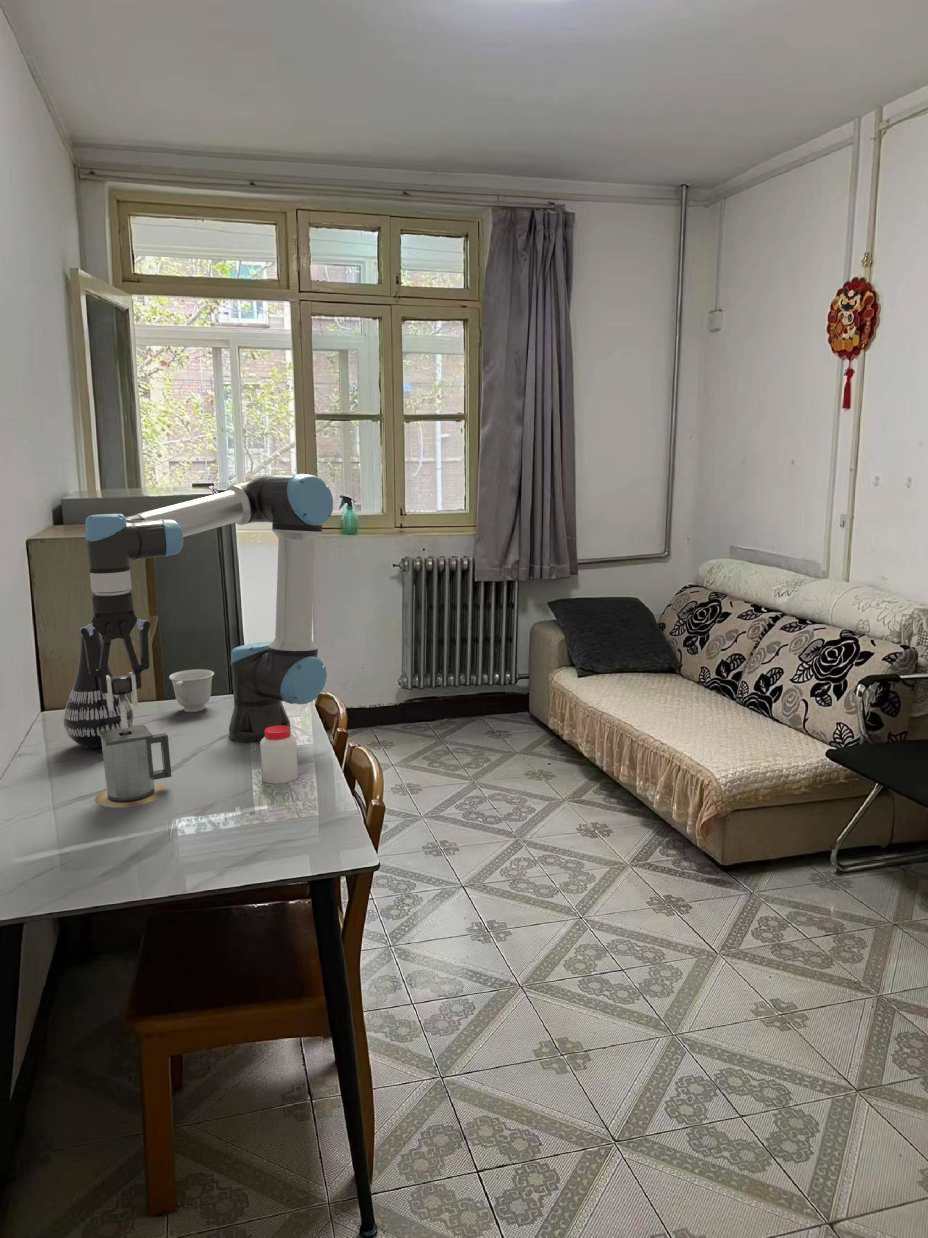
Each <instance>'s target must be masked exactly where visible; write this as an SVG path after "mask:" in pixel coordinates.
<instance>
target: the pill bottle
mask: <svg viewBox="0 0 928 1238" xmlns="http://www.w3.org/2000/svg"><path fill="white" fill-rule="evenodd" d="M290 727H291V726H290ZM290 727H289V726H284V725H277V726H271V727H268V728H266V729H265V730H264V731H265V737H264V738H263V739H262V740H261V741H260V742H259V747H260V751H259V752H260V762H261V778H262V781H263V782H265V783H267V784H272V785H274V784H277V785H280V784H287V783H290V782H293V781H295V780H297V779H298V778H299V763H298V759H299V758H298V744H297V743H298V742H297V738H296V737H295V736H294V735H293V734H291V733H292V731H291V732H290Z"/></svg>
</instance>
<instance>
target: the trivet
mask: <svg viewBox="0 0 928 1238" xmlns="http://www.w3.org/2000/svg"><path fill="white" fill-rule="evenodd" d="M154 784H155V787H154V789H155V792H154V794H153V795H151V796H150V797H148V798H146V799H143V800H139V801H135V802H127V803H117V802H112V801H110V800H108V797H107V790H106V789H105V790H104V791H101V792H100V793H98V794H97V795H96V796H95V799H94V802H95V803H96V804H97V805H99V806H101V807H106V808H130V807H135V806H142V805H145V804H148V803H151V802H154V801H156V800H158V799H159V800H160V799H161V798H162V797H164V795H165V794H166V793H167V791H168V789H167V787H166V786H165V785H164V784H160V783H157V782H154Z"/></svg>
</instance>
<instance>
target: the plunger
mask: <svg viewBox="0 0 928 1238" xmlns="http://www.w3.org/2000/svg"><path fill="white" fill-rule="evenodd" d="M114 676H115V675H114ZM111 687H112V694H113V695H119V704H120V715H121V725H122V735H129V732H128V722H127V711H126V701H125V695H127V694H131V692H132V687H131V677H130V676H129V675H116V676H115V677H112V678H111Z"/></svg>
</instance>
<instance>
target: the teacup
mask: <svg viewBox="0 0 928 1238" xmlns="http://www.w3.org/2000/svg"><path fill="white" fill-rule="evenodd" d="M214 675H215V672H214V671H213V670H210V669H205V668H204V669H199V668H198V669H195V668H194V669H186V670H180V671H177V672H174V673H171V674H170V675H169V677H168V678H169V679H170V680H171V683H172V686H173V690H174V696H175V699H176V702H177V703H178V705H180V706H182V707H183V712H186V713H196V712H197V713H198V712H201V711H204V710H205V709H206V706H205V705H206V704H207V703H208V702H209V701H210V700H211V697H212V696H211V695H212V679H213V676H214ZM203 709H204V710H203Z"/></svg>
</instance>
